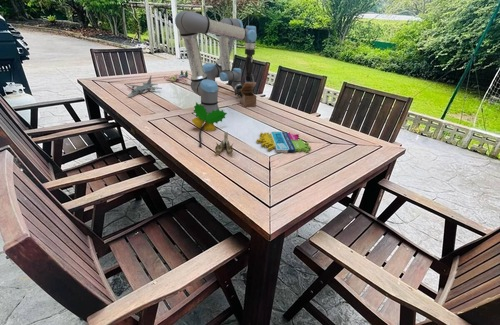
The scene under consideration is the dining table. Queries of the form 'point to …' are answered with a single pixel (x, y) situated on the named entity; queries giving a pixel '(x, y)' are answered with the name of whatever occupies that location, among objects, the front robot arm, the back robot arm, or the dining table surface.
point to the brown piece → (248, 85)
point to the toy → (178, 77)
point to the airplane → (142, 88)
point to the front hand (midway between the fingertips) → (248, 80)
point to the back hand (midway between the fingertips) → (247, 95)
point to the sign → (283, 142)
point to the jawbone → (224, 145)
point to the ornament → (207, 117)
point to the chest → (248, 99)
